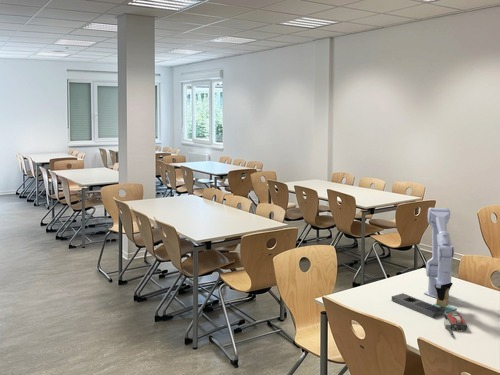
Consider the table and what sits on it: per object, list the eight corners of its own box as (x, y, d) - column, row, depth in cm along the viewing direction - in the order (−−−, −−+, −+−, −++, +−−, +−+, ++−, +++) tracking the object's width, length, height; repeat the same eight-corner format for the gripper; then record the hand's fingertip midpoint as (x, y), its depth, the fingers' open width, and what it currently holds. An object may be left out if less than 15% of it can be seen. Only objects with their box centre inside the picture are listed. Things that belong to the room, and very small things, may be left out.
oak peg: (439, 302, 231) (440, 286, 230) (448, 304, 228) (449, 288, 227) (436, 305, 228) (437, 288, 227) (445, 307, 225) (446, 290, 224)
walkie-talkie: (439, 318, 218) (449, 338, 198) (440, 308, 217) (450, 327, 198) (460, 319, 216) (472, 339, 197) (461, 310, 215) (473, 329, 196)
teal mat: (440, 303, 234) (440, 302, 234) (456, 309, 227) (456, 308, 227) (427, 306, 230) (427, 306, 230) (444, 313, 222) (444, 312, 222)
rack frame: (402, 297, 242) (403, 293, 241) (444, 314, 221) (444, 309, 221) (391, 300, 237) (391, 296, 237) (432, 317, 217) (433, 312, 217)
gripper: (441, 265, 234) (439, 292, 236) (429, 272, 223) (428, 300, 225) (456, 268, 229) (454, 296, 231) (445, 275, 218) (443, 304, 220)
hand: (442, 298), depth 228 cm, fingers closed on oak peg, 4 cm apart
